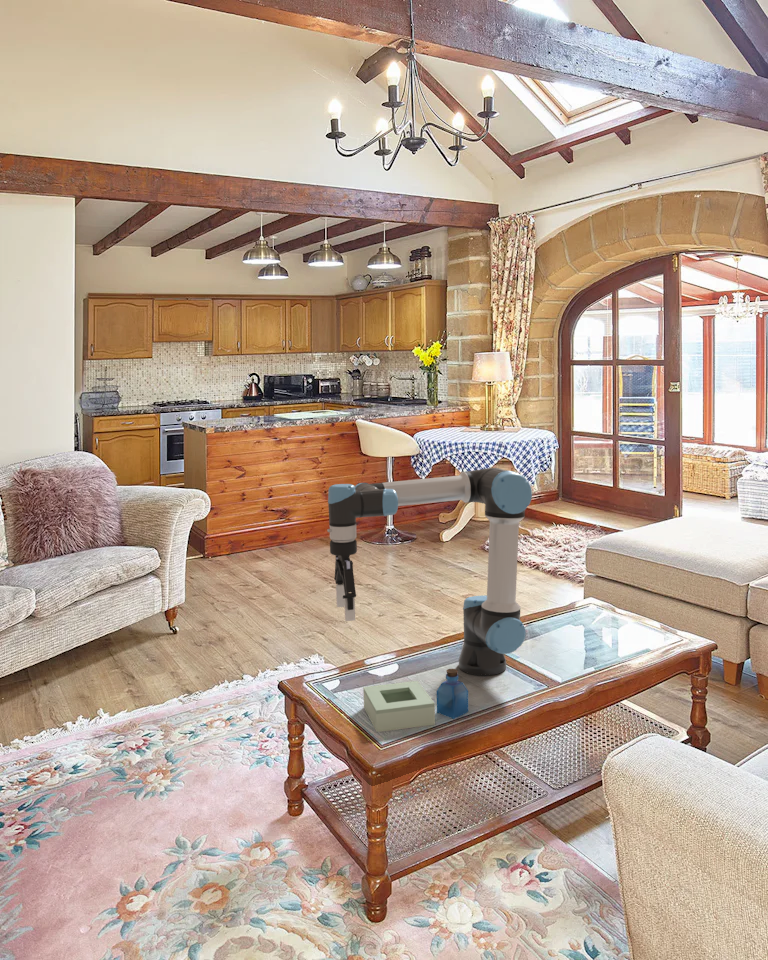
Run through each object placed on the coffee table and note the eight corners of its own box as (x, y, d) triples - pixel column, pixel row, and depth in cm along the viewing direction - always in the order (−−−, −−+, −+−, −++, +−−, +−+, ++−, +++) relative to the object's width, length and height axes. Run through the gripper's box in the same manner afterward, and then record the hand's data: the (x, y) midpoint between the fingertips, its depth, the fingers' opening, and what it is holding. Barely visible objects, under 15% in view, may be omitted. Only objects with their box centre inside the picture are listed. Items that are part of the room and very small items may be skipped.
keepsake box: (418, 700, 217) (417, 680, 216) (435, 724, 201) (434, 703, 201) (363, 707, 213) (363, 687, 212) (376, 732, 198) (376, 710, 197)
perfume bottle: (436, 712, 209) (436, 671, 207) (451, 705, 213) (450, 664, 212) (453, 719, 204) (453, 676, 203) (468, 712, 209) (468, 670, 207)
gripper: (323, 532, 222) (325, 602, 224) (337, 549, 197) (340, 628, 200) (348, 530, 223) (350, 600, 226) (365, 547, 199) (367, 625, 202)
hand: (345, 613), depth 213 cm, fingers open, 13 cm apart
